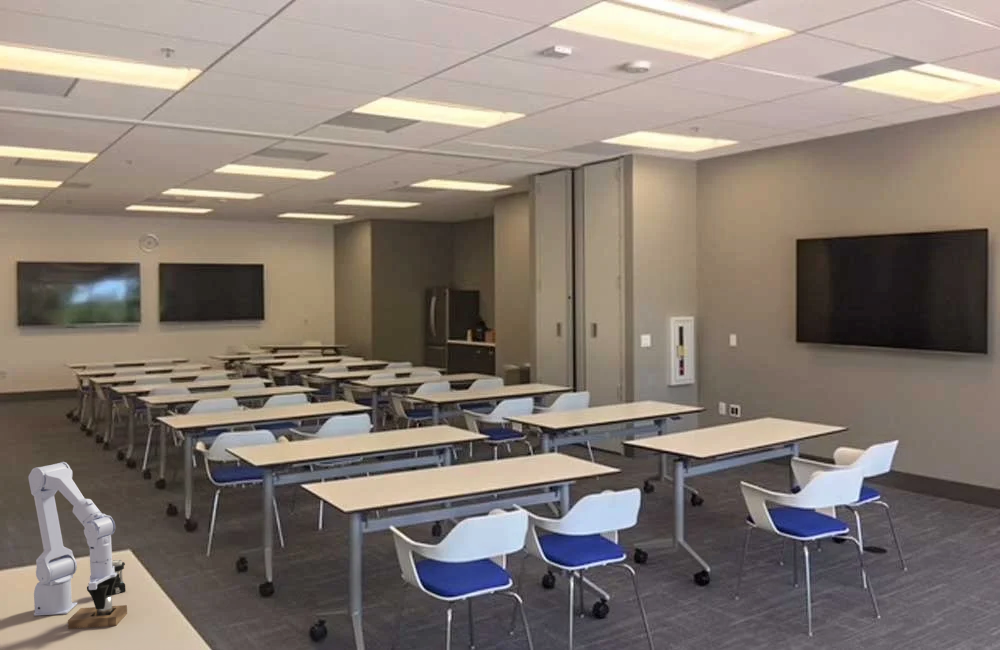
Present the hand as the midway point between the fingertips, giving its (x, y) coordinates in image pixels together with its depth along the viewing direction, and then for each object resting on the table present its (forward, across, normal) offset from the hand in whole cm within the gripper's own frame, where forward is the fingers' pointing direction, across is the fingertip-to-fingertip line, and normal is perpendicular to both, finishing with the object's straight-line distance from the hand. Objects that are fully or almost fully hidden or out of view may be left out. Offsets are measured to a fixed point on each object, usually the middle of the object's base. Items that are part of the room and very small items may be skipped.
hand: (103, 605), depth 235 cm
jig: (+4, 0, +2) cm, 5 cm away
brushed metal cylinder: (+4, 0, 0) cm, 4 cm away
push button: (+5, +23, +5) cm, 24 cm away
